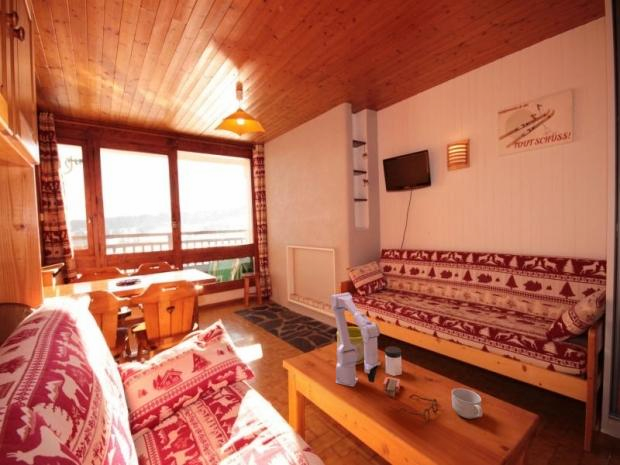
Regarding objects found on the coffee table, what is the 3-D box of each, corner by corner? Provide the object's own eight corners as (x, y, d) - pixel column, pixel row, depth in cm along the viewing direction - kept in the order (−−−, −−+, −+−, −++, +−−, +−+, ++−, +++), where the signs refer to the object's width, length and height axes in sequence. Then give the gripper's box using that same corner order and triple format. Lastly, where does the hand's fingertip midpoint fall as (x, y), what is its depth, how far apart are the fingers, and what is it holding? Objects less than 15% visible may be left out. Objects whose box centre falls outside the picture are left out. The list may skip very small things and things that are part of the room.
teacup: (447, 405, 127) (447, 387, 126) (472, 405, 126) (472, 387, 126) (463, 428, 113) (462, 408, 112) (492, 428, 112) (491, 407, 112)
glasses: (425, 425, 115) (425, 413, 115) (395, 411, 124) (394, 400, 124) (438, 409, 125) (438, 397, 125) (408, 397, 134) (408, 386, 134)
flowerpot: (365, 369, 159) (364, 339, 159) (333, 364, 166) (332, 336, 165) (370, 355, 176) (370, 328, 175) (341, 351, 182) (340, 325, 182)
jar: (402, 376, 151) (402, 353, 150) (386, 375, 152) (385, 353, 152) (400, 368, 159) (400, 346, 159) (385, 367, 161) (384, 345, 161)
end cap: (383, 389, 140) (383, 383, 140) (386, 382, 146) (386, 376, 146) (398, 392, 137) (398, 386, 137) (400, 385, 143) (400, 379, 143)
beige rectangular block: (387, 396, 135) (386, 388, 135) (390, 386, 143) (390, 379, 143) (394, 397, 134) (394, 390, 134) (397, 387, 142) (396, 380, 142)
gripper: (376, 360, 121) (376, 392, 122) (383, 346, 135) (384, 375, 135) (359, 357, 125) (360, 388, 125) (368, 343, 138) (369, 372, 138)
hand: (371, 381), depth 130 cm, fingers closed
